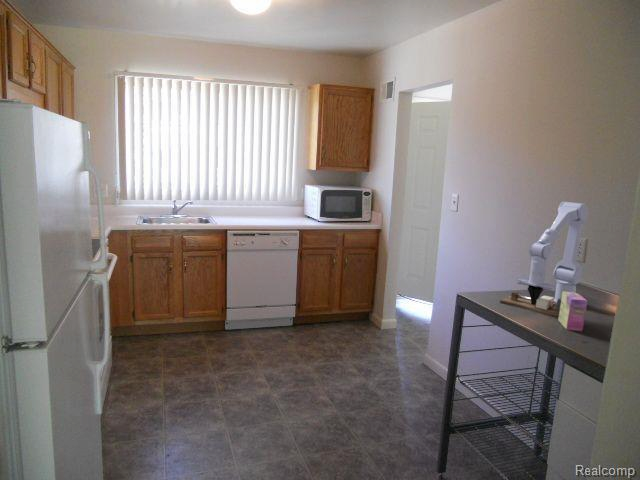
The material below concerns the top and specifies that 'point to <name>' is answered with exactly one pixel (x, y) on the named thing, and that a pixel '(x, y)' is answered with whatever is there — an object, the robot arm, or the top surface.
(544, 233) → the robot arm
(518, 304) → the guide board
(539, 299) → the sleeve
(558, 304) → the end block
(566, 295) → the box
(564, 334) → the top surface
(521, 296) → the guide rod
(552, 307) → the stop band
